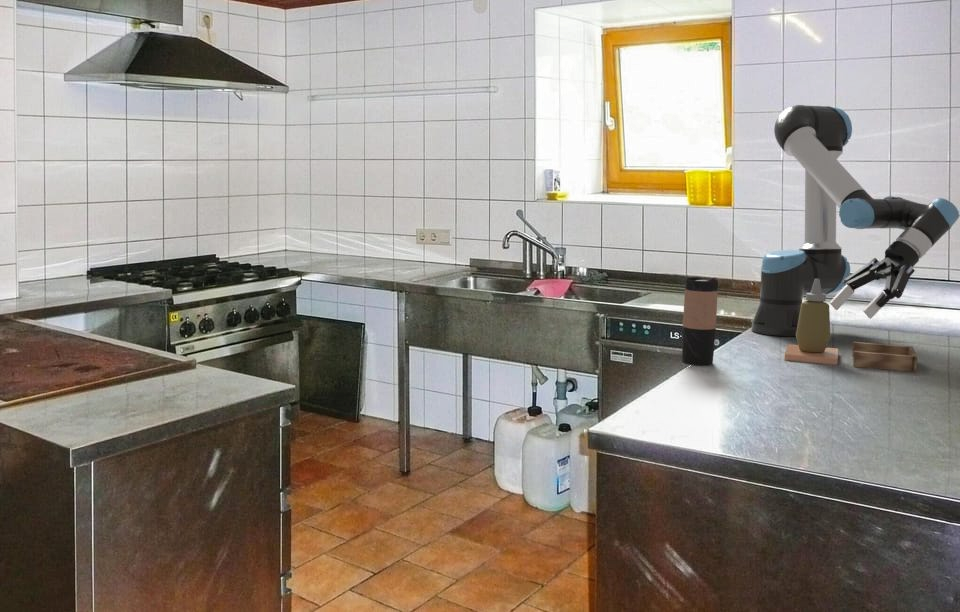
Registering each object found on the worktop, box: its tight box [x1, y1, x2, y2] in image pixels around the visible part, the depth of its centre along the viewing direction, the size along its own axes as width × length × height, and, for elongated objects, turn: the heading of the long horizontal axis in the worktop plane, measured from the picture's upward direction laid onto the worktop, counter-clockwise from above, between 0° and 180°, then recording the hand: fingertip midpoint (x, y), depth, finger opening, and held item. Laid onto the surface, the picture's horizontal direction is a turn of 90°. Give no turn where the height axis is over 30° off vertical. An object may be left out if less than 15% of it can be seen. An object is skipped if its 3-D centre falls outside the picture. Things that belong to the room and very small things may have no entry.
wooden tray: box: [852, 341, 918, 373], centre depth 217 cm, size 14×14×4 cm
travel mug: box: [681, 277, 719, 367], centre depth 212 cm, size 8×8×20 cm
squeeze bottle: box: [795, 279, 831, 353], centre depth 222 cm, size 8×8×18 cm
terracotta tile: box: [784, 344, 839, 366], centre depth 223 cm, size 12×14×2 cm
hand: (849, 310), depth 223 cm, fingers open, 13 cm apart
